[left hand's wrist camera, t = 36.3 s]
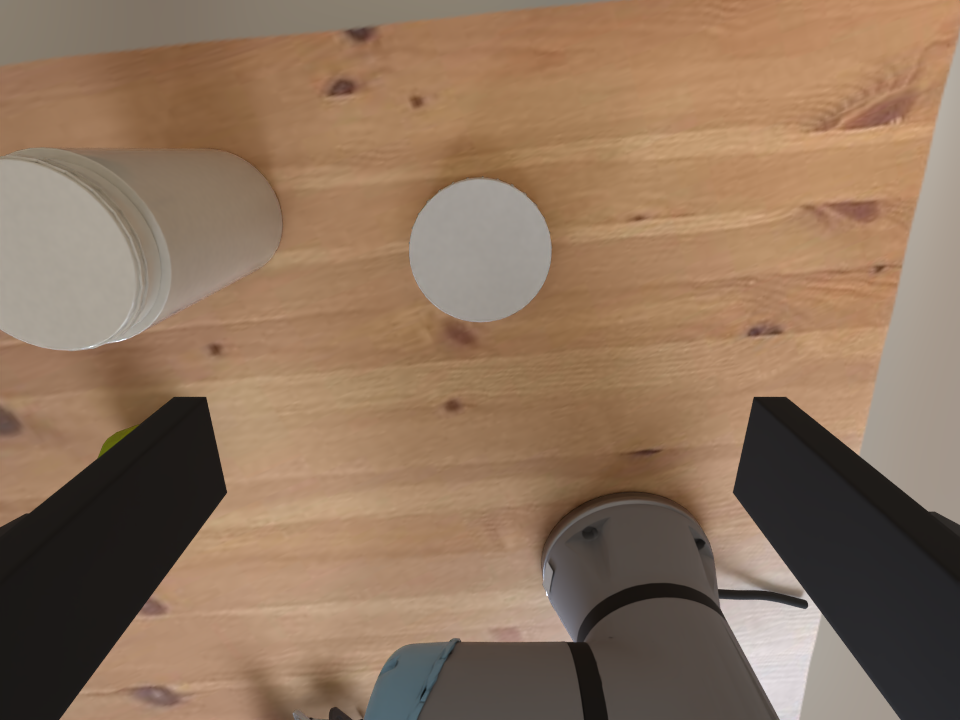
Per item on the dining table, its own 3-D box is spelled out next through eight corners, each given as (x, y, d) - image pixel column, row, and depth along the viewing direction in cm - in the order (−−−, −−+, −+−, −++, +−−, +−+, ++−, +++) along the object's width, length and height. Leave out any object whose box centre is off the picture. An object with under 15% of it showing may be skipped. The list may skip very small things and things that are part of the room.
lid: (392, 200, 36) (387, 203, 34) (530, 158, 35) (533, 158, 33) (436, 329, 40) (433, 338, 38) (562, 294, 39) (566, 302, 37)
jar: (283, 284, 39) (155, 371, 23) (162, 268, 38) (-48, 345, 23) (282, 158, 35) (134, 164, 20) (151, 139, 35) (-103, 131, 20)
